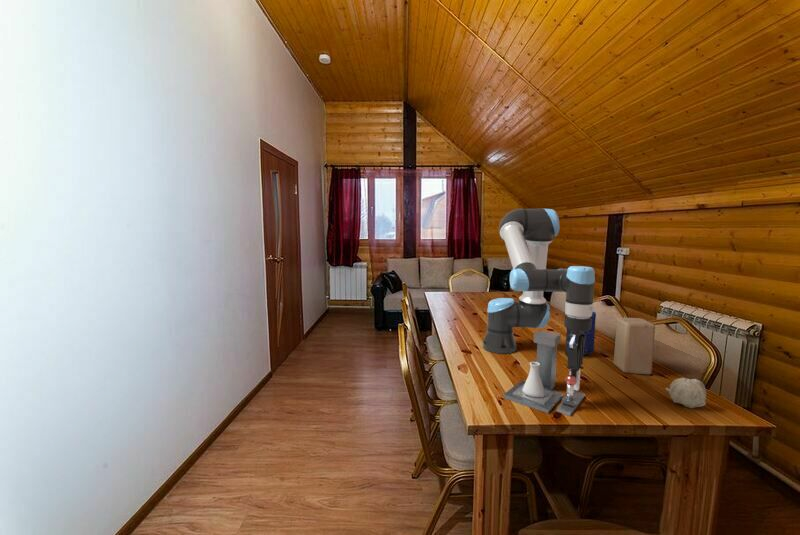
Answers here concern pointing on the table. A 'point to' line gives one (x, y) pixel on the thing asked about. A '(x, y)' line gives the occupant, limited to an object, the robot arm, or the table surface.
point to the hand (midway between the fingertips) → (573, 388)
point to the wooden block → (634, 345)
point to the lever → (570, 391)
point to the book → (589, 337)
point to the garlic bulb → (688, 392)
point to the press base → (544, 378)
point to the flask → (534, 382)
